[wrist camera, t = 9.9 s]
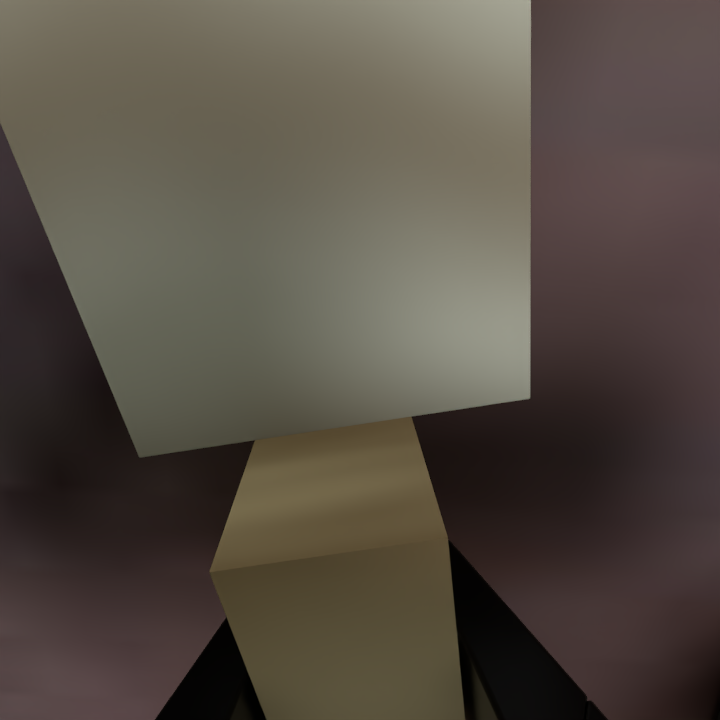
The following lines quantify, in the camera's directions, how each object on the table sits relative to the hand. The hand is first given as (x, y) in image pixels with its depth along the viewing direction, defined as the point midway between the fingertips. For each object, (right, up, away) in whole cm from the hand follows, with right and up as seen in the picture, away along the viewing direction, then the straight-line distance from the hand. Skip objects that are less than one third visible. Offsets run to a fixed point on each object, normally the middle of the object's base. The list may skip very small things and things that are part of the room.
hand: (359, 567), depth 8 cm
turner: (0, +2, 0) cm, 2 cm away
